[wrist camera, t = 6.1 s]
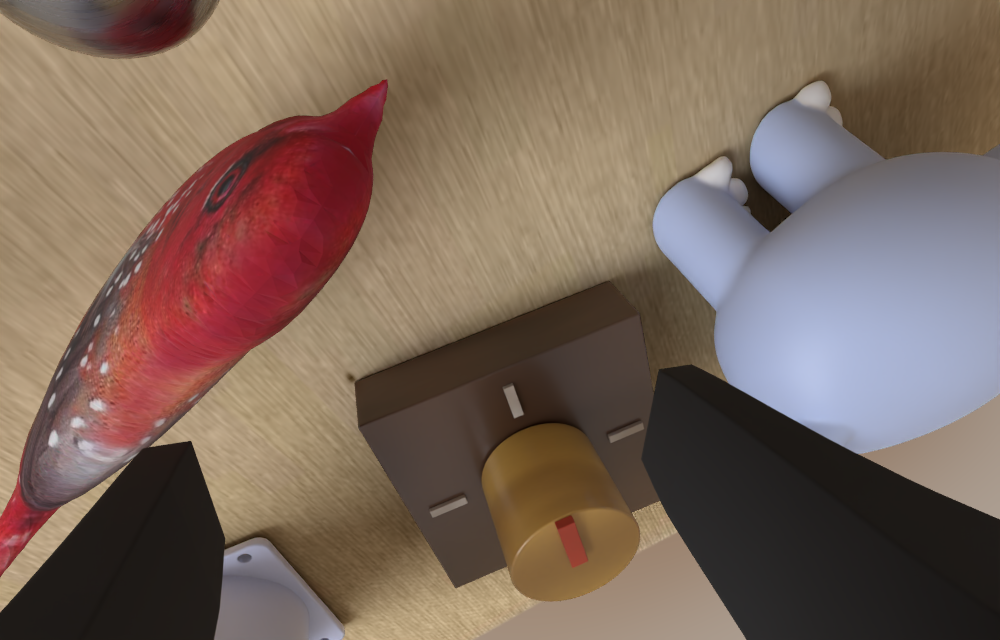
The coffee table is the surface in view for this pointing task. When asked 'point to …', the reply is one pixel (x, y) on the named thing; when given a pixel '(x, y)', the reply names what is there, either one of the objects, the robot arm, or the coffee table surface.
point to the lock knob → (557, 513)
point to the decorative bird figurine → (197, 299)
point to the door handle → (111, 24)
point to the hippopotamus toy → (847, 277)
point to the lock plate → (509, 415)
